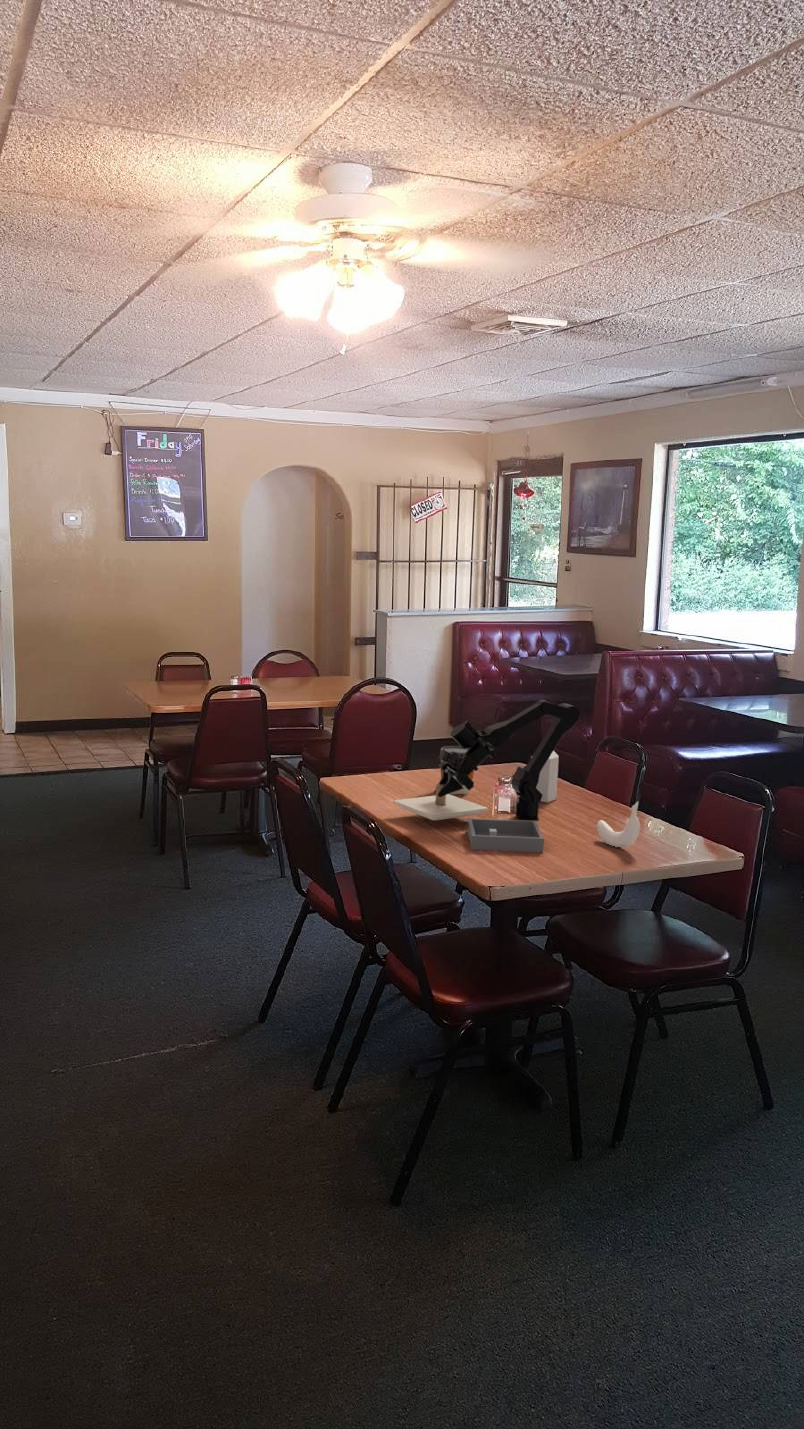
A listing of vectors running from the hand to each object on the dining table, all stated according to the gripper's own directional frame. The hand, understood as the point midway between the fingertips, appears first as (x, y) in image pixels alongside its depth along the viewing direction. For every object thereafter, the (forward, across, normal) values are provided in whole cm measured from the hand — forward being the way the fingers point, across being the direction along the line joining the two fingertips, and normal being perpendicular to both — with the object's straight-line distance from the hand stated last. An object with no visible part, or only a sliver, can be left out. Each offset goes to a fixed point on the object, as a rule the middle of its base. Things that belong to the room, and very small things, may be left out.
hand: (436, 794), depth 328 cm
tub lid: (+3, 0, +5) cm, 5 cm away
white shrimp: (-24, +35, +37) cm, 56 cm away
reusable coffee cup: (-8, -38, +20) cm, 43 cm away
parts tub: (-3, +26, +15) cm, 30 cm away
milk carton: (-26, -23, +38) cm, 51 cm away
